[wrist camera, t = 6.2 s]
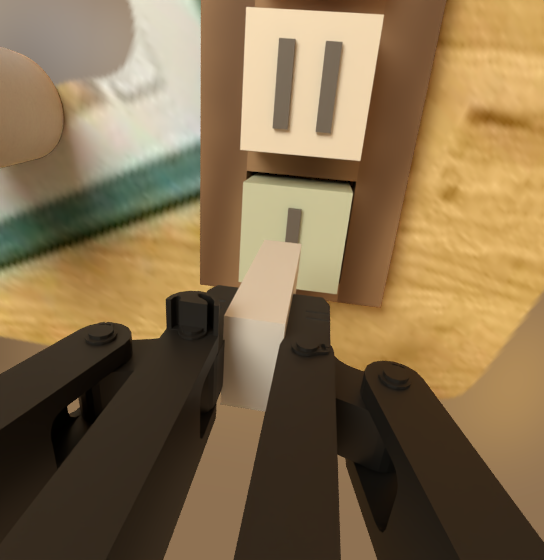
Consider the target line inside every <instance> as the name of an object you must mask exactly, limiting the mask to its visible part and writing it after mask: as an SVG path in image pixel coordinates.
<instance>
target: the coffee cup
mask: <svg viewBox="0 0 544 560" xmlns="http://www.w3.org/2000/svg"><path fill="white" fill-rule="evenodd" d="M63 121H64V119H63V109H62V104H61V100H60V97H59V94H58V92H57V90H56V88H55V86H54V84H53V83H52V81H51V79H50V78H49V76H48V75H47V74H46V73H45V72H44V70H43V69H42V68H41V67H40V66H39V65H38V64H36V63H35V62H34V61H33V60H31V59H29V58H28V57H26V56H24V55H22V54H20V53H17V52H15V51H12V50H9V49H6V48H4V47H1V46H0V168H3V167H7V166H11V165H15V164H19V163H23V162H27V161H31V160H35V159H38V158H41V157H44V156H46V155H47V154H49V153H50V152H51V151H52V150H53V149H54V148H55V147H56V145H57V144H58V142H59V140H60V137H61V134H62V130H63Z"/></svg>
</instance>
